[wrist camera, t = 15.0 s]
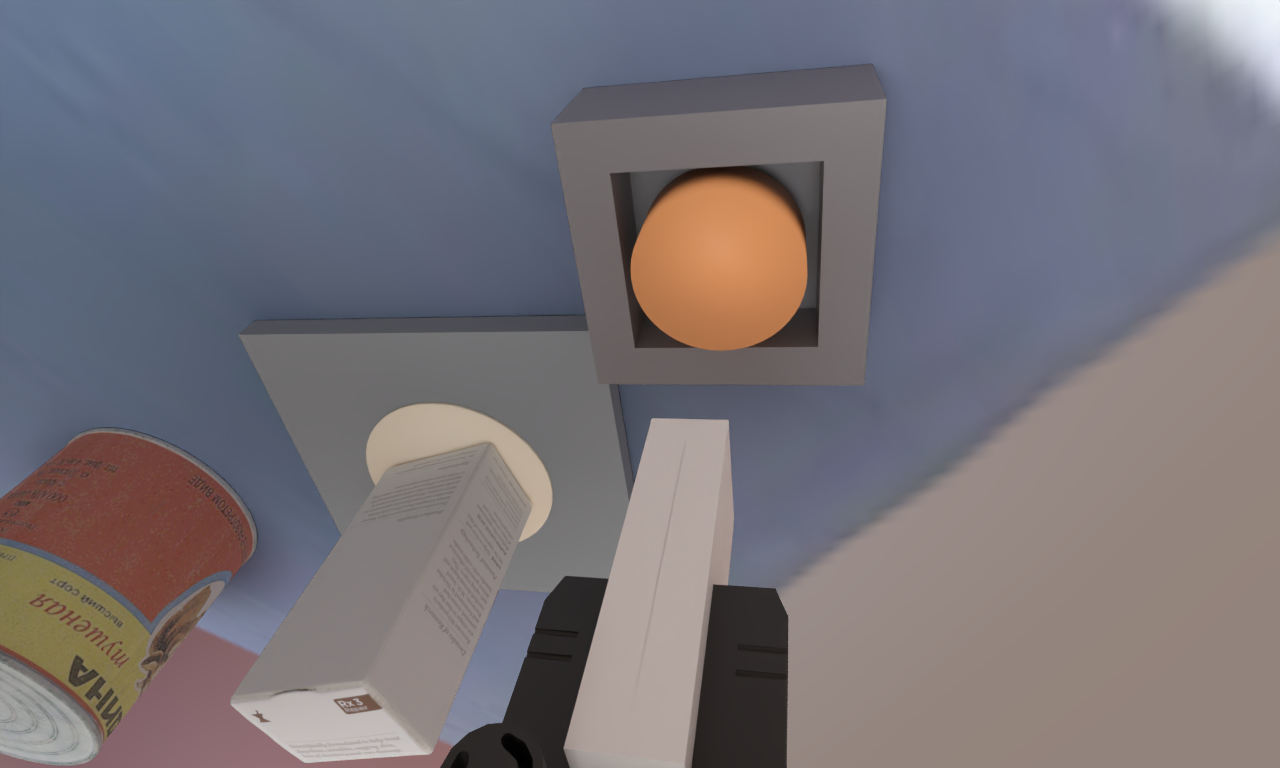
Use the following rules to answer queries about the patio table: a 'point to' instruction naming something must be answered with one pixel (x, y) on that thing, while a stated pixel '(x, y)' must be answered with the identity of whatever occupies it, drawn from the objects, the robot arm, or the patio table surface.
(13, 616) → the canned food
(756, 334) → the button
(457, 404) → the slate board
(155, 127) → the patio table surface
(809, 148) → the button box
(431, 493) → the skincare box
